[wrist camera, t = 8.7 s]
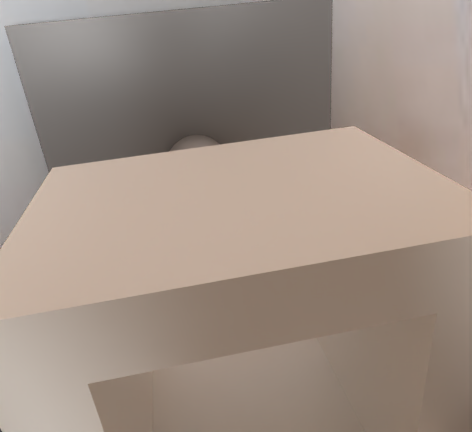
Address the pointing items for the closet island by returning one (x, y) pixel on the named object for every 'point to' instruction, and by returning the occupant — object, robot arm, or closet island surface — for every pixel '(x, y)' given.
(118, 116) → the post stand
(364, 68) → the closet island surface
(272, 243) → the collar
